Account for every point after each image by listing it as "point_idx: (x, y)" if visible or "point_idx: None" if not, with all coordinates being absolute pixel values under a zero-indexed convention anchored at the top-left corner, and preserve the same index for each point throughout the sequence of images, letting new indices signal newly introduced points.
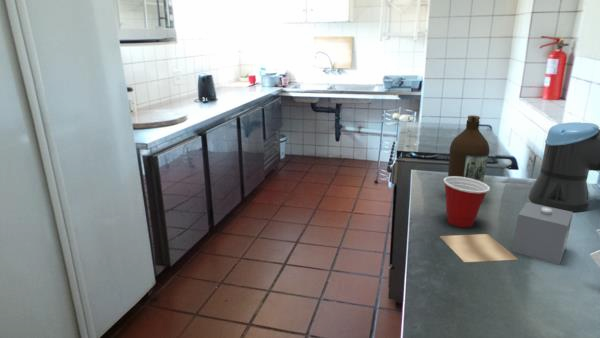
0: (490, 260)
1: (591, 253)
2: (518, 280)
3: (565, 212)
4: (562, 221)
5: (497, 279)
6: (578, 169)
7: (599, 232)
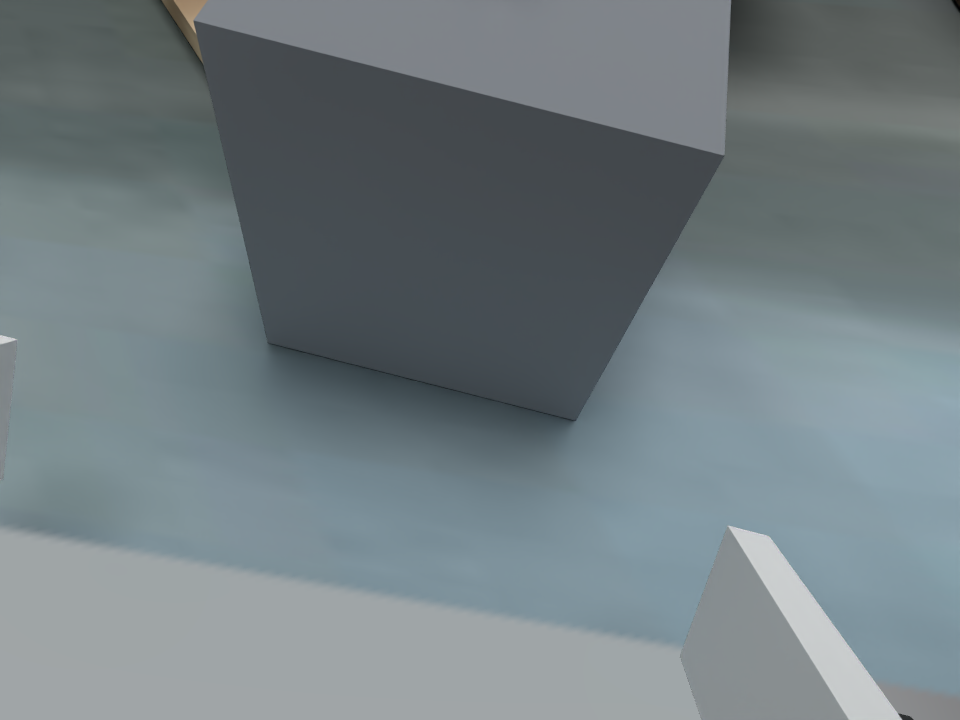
0: (183, 9)
1: (5, 342)
2: (45, 133)
3: (651, 85)
4: (321, 8)
5: (32, 54)
6: None
7: (721, 556)
